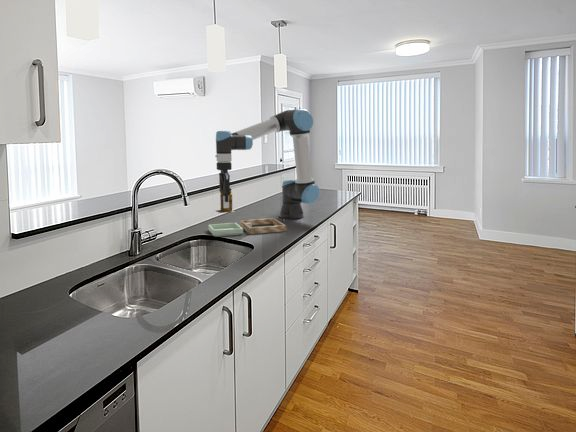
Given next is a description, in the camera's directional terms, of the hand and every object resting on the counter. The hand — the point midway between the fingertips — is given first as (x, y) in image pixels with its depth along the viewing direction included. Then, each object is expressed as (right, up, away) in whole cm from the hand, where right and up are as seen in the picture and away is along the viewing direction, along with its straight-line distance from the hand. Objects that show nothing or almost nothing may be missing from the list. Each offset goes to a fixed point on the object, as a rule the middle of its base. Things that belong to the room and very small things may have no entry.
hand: (224, 206), depth 210 cm
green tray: (0, -13, +3) cm, 13 cm away
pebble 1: (+11, -11, +15) cm, 21 cm away
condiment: (0, -3, 0) cm, 3 cm away
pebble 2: (+27, -12, +9) cm, 31 cm away
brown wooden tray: (+19, -11, +12) cm, 25 cm away
